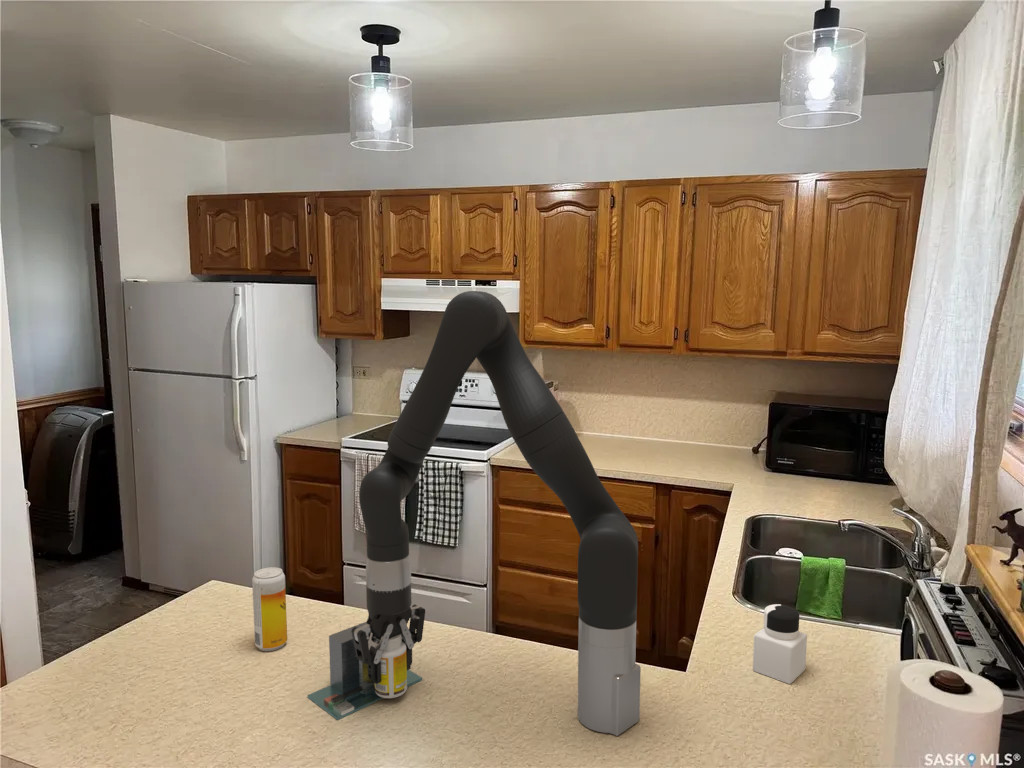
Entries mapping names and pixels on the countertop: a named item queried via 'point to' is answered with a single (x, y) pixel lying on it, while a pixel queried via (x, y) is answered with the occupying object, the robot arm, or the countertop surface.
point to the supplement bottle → (393, 669)
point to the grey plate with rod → (364, 683)
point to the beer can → (269, 609)
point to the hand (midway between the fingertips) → (390, 674)
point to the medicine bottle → (780, 645)
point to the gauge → (347, 678)
